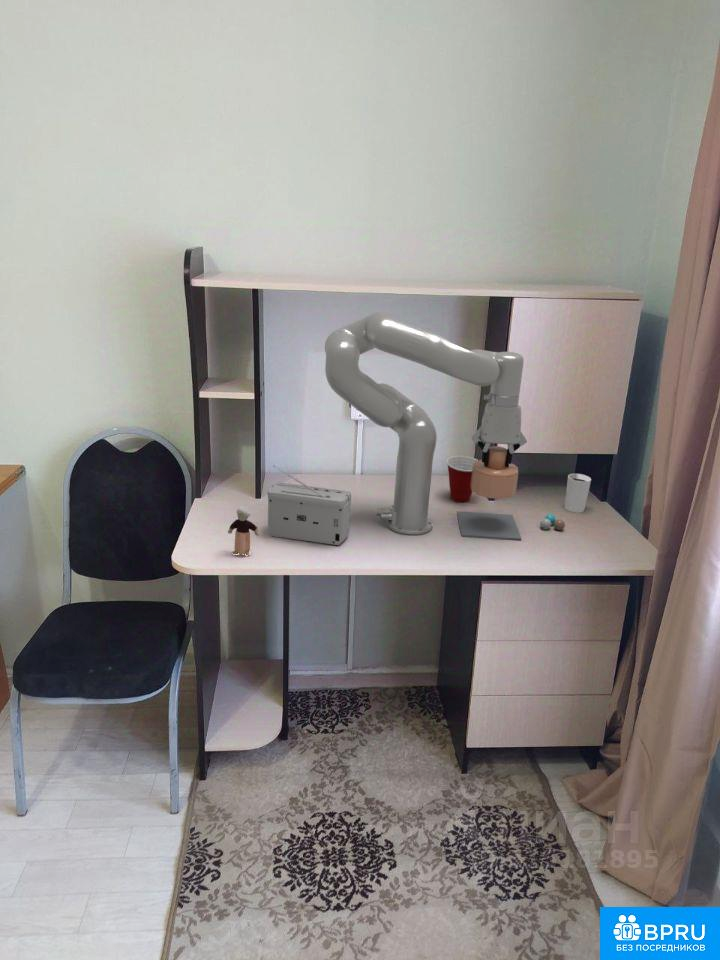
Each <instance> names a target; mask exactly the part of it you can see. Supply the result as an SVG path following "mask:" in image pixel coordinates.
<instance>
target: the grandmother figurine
mask: <svg viewBox="0 0 720 960" xmlns="http://www.w3.org/2000/svg"><path fill="white" fill-rule="evenodd" d="M236 515H237V519H235V520H234V521H232V523H231V525H229V528H228V531H227V533H228V534H232V533H233V531H234V530H235V529H236V530H235V534H234V535H235V536H234V548H233V549H234V550H233V551H232V552H231V554H232V553H233V554H238V553H239V554H240V555H242V554H244V555H245V554H246V555H248V554H249V551H250V552H251V532H250V530H251V531H252V532H253V533H254V535H255V536H256V537H257V536H259V535H260V532H259V530H258V526H256V524H254V523H253V522H251V521H250V520H248V518H249V517H250V516H251V512H250V510H249V509H248V508H247V507H246V506H239V507H238V508H237V509H236Z"/></svg>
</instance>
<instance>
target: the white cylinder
mask: <svg viewBox="0 0 720 960" xmlns="http://www.w3.org/2000/svg"><path fill="white" fill-rule="evenodd" d="M591 482H592V478H591V477H590V476H588V475H585V474H582V473H570V474H568V475H567V483H566V484H567V485H566V491H565V492H566V493H565V499H564V500H565V501H564V509H565V510H566V511H569V512H571V513H578V514H579V513H583V512H585V508H586V504H587V500H588V495H589V492H590V487H591Z"/></svg>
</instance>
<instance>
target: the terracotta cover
mask: <svg viewBox="0 0 720 960" xmlns="http://www.w3.org/2000/svg"><path fill="white" fill-rule="evenodd" d="M507 449H508V448H506V447H503V446H498V445H495V446H494V445H493V446H489V448H488V452H489V458H488V466H484V462H482V459H479V460H478V459H477V460H478V461H476V462H474V464H473V467H472V476H471V485H470V487H471V491H472V493H473V494H474V493H475V494H476V495H478V496H480V497H484V498H489V499H497V500H498V499H500V500H501V499H502V500H503V499H508V498H512V497H513V496H515V495H516V493H517V487H518V479H519V467H518V466H516V465H515V464H514V463H512V462H511V464H509V467H508V468H506V467H505V464H506V456H507Z"/></svg>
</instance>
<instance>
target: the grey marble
mask: <svg viewBox="0 0 720 960" xmlns="http://www.w3.org/2000/svg"><path fill="white" fill-rule="evenodd" d="M539 525H540V527H541V528H542V529H543V530H549V529H550V528H551V526H552V525H551V521H550V520H549V519H546V518H545V517H544V518H543V519H541V520H540V523H539Z"/></svg>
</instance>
